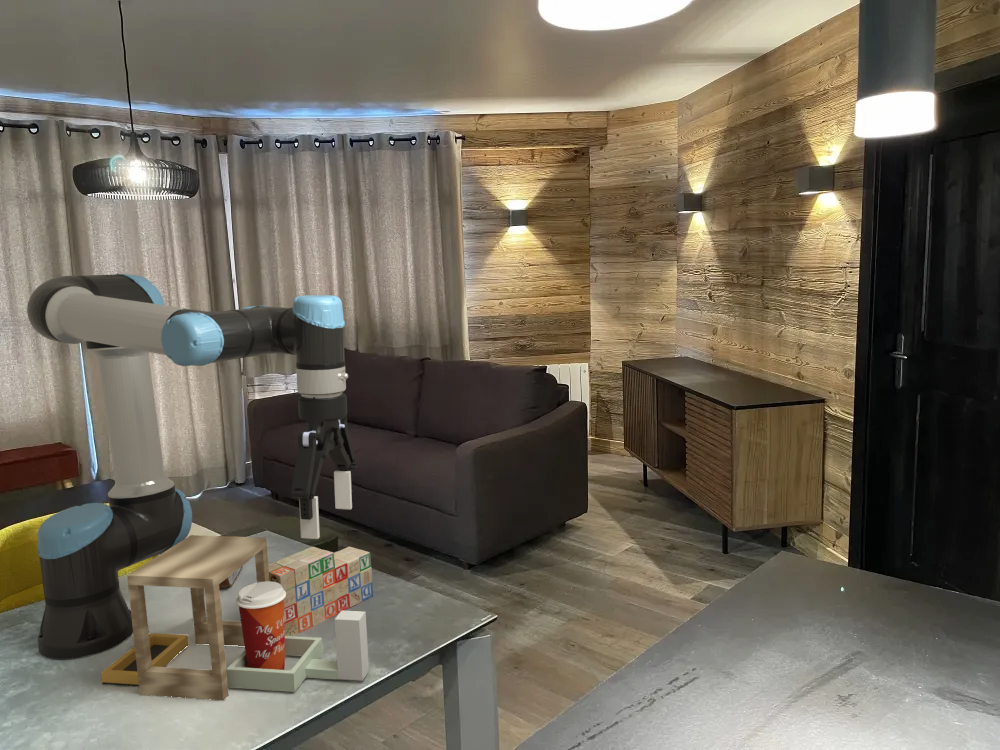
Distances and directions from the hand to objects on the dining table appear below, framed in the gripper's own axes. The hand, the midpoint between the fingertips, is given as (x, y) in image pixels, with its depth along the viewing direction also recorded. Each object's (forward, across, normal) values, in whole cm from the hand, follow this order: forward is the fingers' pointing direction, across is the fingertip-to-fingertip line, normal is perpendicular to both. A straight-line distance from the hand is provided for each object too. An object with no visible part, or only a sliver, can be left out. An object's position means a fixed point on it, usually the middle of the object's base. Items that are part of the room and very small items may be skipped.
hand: (328, 522), depth 121 cm
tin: (+25, +28, +35) cm, 51 cm away
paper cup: (+24, -5, +9) cm, 26 cm away
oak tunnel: (+24, -6, +19) cm, 31 cm away
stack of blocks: (+24, +16, +9) cm, 30 cm away
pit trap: (+24, -6, +31) cm, 40 cm away
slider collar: (+23, -5, +3) cm, 24 cm away
